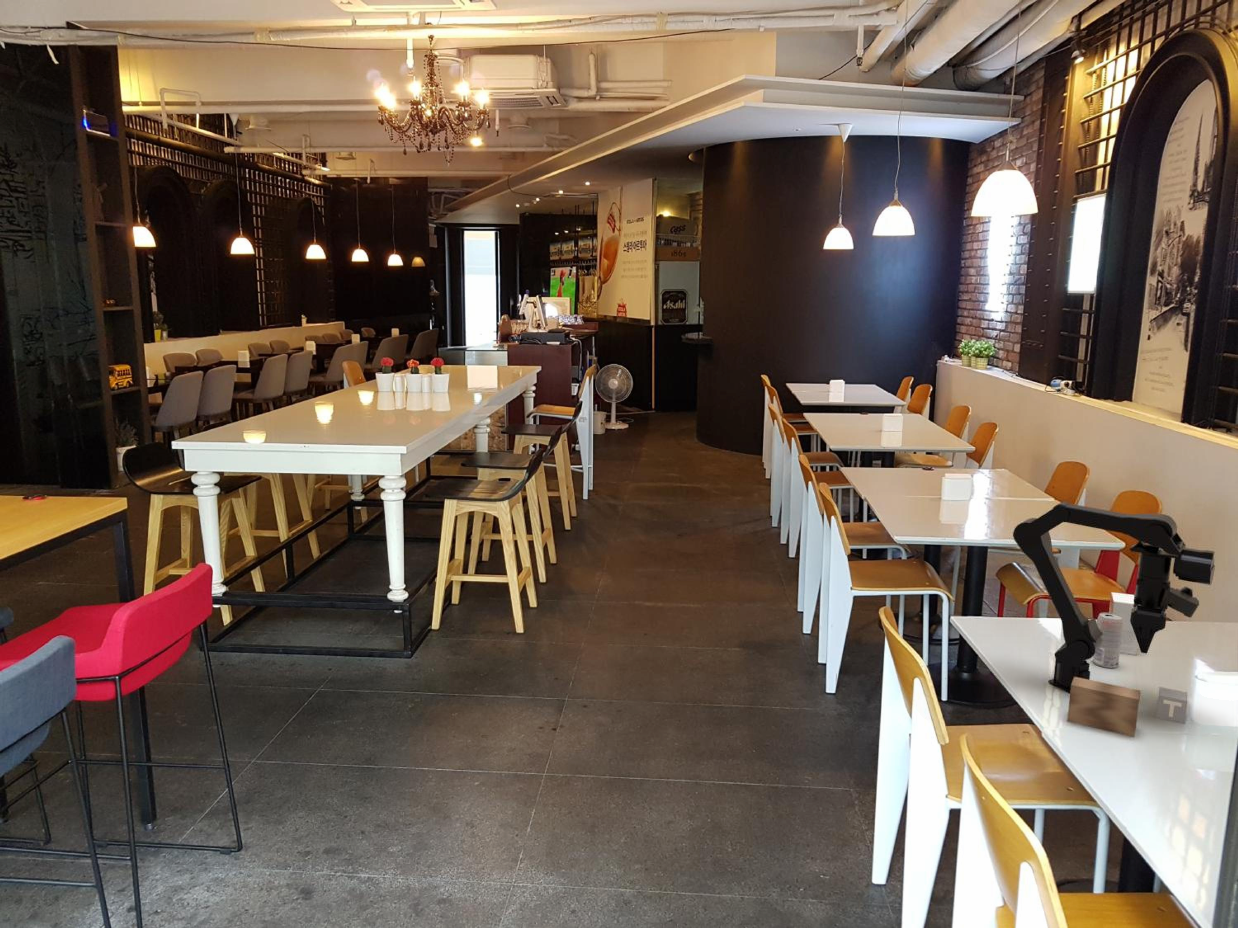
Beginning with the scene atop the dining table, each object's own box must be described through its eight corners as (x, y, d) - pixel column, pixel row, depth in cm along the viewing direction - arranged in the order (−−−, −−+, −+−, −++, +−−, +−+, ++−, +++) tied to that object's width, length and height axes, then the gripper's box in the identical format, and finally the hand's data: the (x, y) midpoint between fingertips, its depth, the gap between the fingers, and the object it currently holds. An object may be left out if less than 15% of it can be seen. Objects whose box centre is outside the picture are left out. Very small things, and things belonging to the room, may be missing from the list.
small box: (1105, 640, 231) (1110, 591, 228) (1133, 644, 228) (1139, 595, 226) (1107, 651, 223) (1113, 600, 221) (1136, 655, 221) (1143, 604, 219)
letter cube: (1156, 708, 192) (1159, 686, 191) (1184, 714, 189) (1187, 692, 188) (1156, 718, 187) (1159, 695, 186) (1184, 724, 185) (1187, 701, 184)
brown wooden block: (1067, 721, 185) (1071, 684, 184) (1070, 712, 189) (1074, 676, 188) (1134, 737, 179) (1138, 699, 177) (1135, 727, 183) (1140, 690, 181)
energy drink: (1112, 660, 218) (1117, 612, 215) (1122, 669, 212) (1128, 620, 210) (1089, 659, 218) (1094, 611, 216) (1098, 667, 213) (1103, 619, 211)
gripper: (1199, 593, 177) (1189, 668, 180) (1198, 570, 193) (1189, 640, 195) (1134, 583, 183) (1125, 656, 185) (1138, 562, 198) (1130, 630, 201)
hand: (1144, 645), depth 192 cm, fingers open, 9 cm apart
